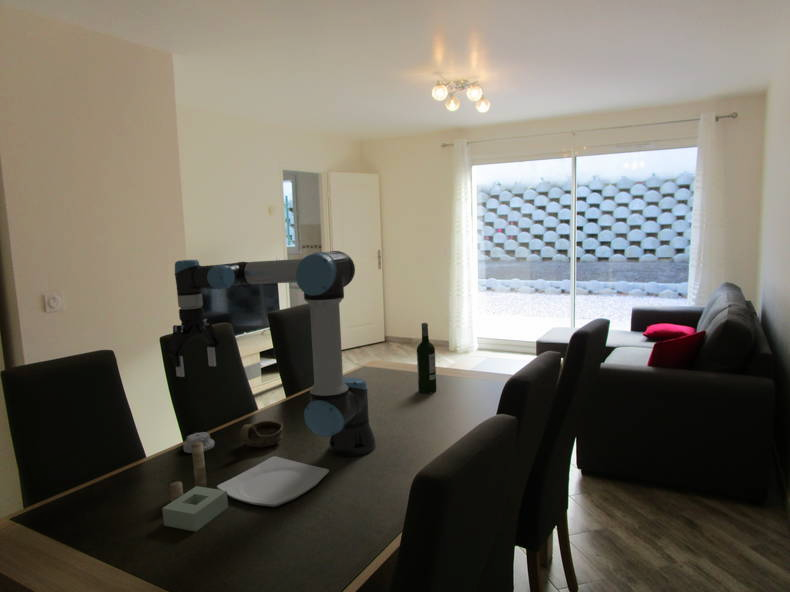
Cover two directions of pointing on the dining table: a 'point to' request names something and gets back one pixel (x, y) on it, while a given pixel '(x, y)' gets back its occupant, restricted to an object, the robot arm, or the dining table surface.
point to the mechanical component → (199, 437)
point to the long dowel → (199, 464)
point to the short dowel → (176, 490)
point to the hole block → (195, 508)
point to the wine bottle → (426, 363)
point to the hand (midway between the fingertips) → (197, 371)
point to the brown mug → (262, 433)
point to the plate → (273, 482)
